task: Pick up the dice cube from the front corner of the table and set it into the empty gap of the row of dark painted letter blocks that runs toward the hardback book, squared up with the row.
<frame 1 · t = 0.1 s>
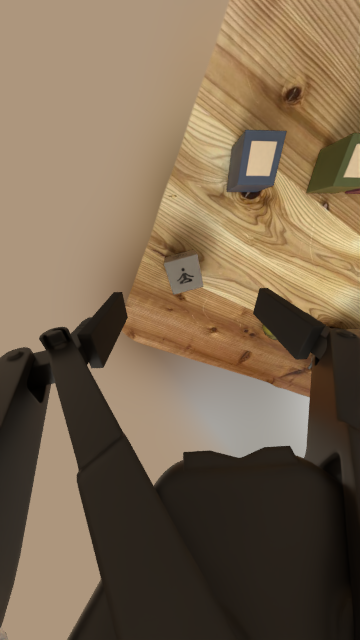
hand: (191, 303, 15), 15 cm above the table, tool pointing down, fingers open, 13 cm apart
block b: (328, 172, 22), on the table
lime: (268, 321, 35), on the table
block a: (244, 171, 22), on the table
dice cube: (182, 267, 28), on the table
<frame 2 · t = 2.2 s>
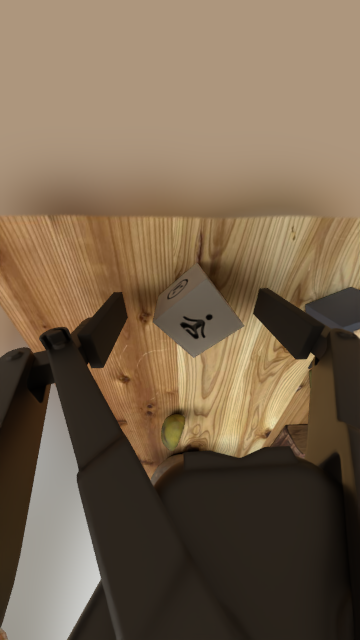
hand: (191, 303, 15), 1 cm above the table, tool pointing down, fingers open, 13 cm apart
lime: (174, 414, 28), on the table
block a: (326, 312, 18), on the table
hardback book: (300, 451, 39), on the table
bowl: (181, 456, 38), on the table
dice cube: (192, 297, 16), on the table
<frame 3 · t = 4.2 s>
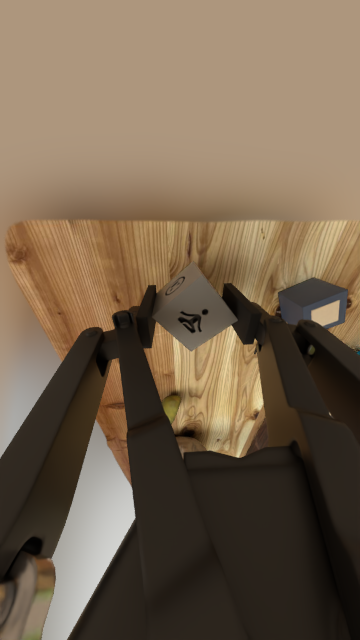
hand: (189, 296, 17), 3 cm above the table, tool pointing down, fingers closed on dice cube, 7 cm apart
lime: (171, 396, 31), on the table
block a: (296, 299, 21), on the table
hardback book: (287, 433, 43), on the table
bowl: (179, 440, 41), on the table
dice cube: (189, 294, 17), point 3 cm above the table, touching gripper
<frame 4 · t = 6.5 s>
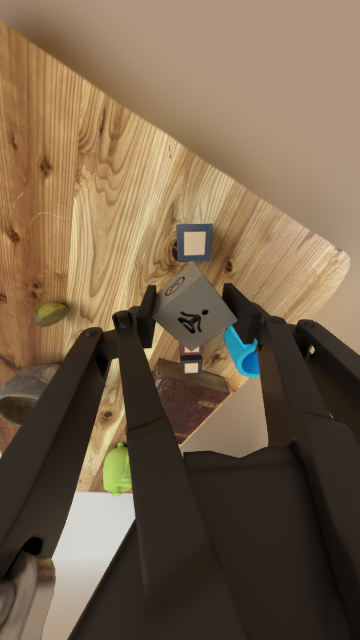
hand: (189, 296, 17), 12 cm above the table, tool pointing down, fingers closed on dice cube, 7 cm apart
block d: (189, 353, 37), on the table
lime: (60, 308, 30), on the table
block c: (189, 332, 34), on the table
block a: (191, 241, 25), on the table
mug: (237, 329, 34), on the table
hardback book: (171, 398, 47), on the table
bowl: (61, 373, 39), on the table
dice cube: (189, 294, 17), point 12 cm above the table, touching gripper
teapot: (125, 448, 63), on the table
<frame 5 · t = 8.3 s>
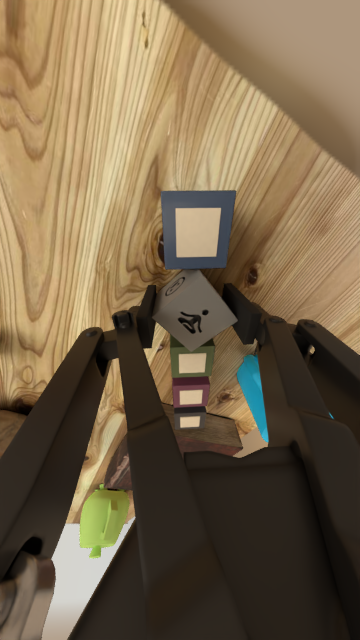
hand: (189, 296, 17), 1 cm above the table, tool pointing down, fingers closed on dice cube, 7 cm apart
block b: (188, 337, 20), on the table
block d: (187, 393, 27), on the table
block c: (187, 368, 23), on the table
block a: (190, 231, 14), on the table
mug: (256, 363, 24), on the table
hardback book: (164, 441, 36), on the table
bowl: (11, 417, 28), on the table
dice cube: (189, 294, 17), on the table, touching gripper
teapot: (110, 488, 52), on the table
when the fingers open (0 cm above the table, at t = 9.1 s): dice cube stays where it is, on the table.
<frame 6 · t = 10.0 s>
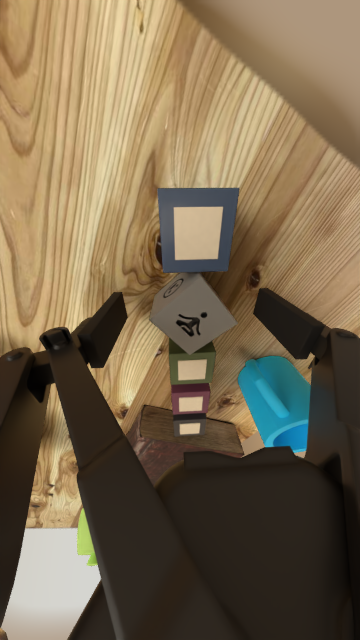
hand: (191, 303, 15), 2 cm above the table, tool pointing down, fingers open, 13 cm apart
block b: (187, 341, 20), on the table
block d: (186, 398, 26), on the table
block c: (187, 373, 23), on the table
block a: (189, 232, 13), on the table
mug: (258, 368, 23), on the table
hardback book: (163, 446, 35), on the table
dice cube: (188, 296, 17), on the table
teapot: (109, 492, 51), on the table
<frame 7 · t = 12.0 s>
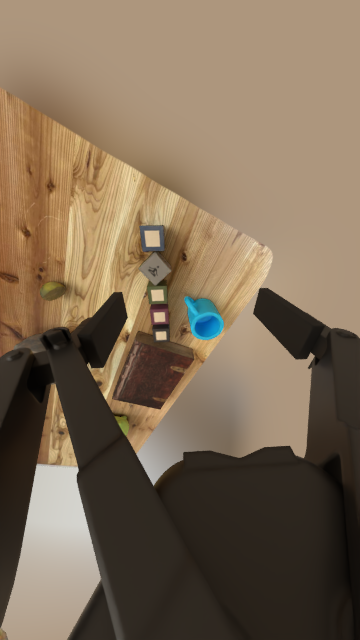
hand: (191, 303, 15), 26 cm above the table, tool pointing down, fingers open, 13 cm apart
block b: (158, 288, 41), on the table
block d: (161, 326, 47), on the table
lime: (59, 288, 39), on the table
block c: (160, 309, 44), on the table
block a: (154, 237, 35), on the table
mug: (197, 306, 45), on the table
hardback book: (151, 368, 57), on the table
bowl: (59, 344, 48), on the table
dice cube: (156, 264, 38), on the table
teapot: (115, 419, 72), on the table
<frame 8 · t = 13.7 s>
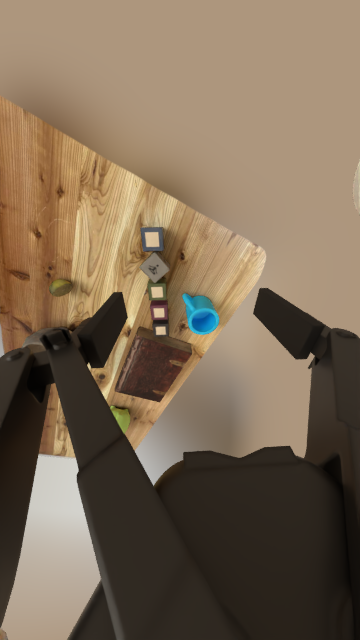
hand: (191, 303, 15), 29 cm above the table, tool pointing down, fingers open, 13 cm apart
block b: (158, 286, 44), on the table
block d: (161, 322, 50), on the table
lime: (66, 285, 43), on the table
block c: (160, 305, 47), on the table
block a: (154, 238, 38), on the table
mug: (195, 303, 47), on the table
hardback book: (151, 363, 59), on the table
bowl: (66, 338, 52), on the table
dice cube: (156, 263, 41), on the table
teapot: (117, 411, 75), on the table
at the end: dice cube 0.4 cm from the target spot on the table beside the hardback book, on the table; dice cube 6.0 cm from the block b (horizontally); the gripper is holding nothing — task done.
